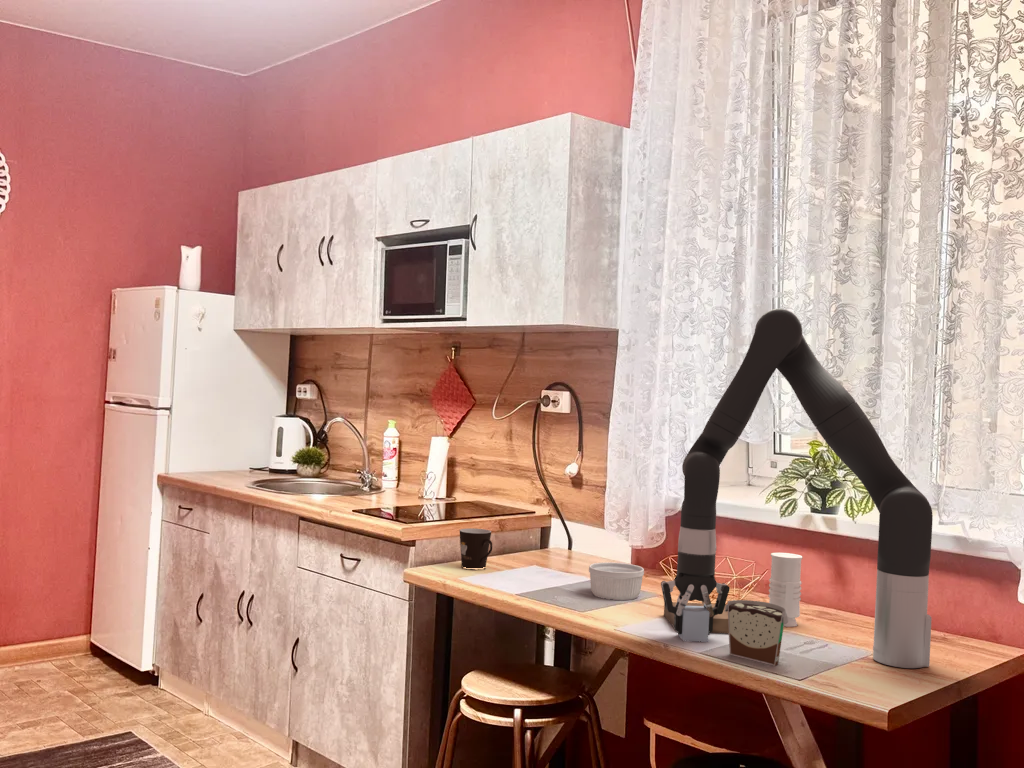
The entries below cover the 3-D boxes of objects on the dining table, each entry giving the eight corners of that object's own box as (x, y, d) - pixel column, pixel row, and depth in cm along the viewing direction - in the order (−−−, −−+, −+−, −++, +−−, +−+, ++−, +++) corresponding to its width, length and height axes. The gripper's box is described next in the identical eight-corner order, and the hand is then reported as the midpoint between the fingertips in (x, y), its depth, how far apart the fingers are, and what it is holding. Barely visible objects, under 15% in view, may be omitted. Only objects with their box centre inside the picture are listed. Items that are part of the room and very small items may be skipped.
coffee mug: (455, 564, 258) (457, 528, 259) (486, 565, 260) (488, 528, 260) (461, 573, 247) (463, 534, 247) (493, 573, 249) (495, 535, 249)
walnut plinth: (725, 617, 211) (726, 604, 211) (744, 634, 197) (744, 619, 197) (663, 615, 210) (664, 601, 210) (677, 631, 196) (678, 617, 196)
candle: (771, 626, 205) (775, 557, 205) (763, 618, 212) (766, 551, 212) (803, 628, 205) (807, 558, 205) (794, 620, 212) (797, 553, 212)
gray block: (701, 635, 194) (703, 606, 194) (707, 642, 189) (709, 612, 189) (677, 634, 194) (679, 605, 194) (683, 641, 189) (684, 611, 189)
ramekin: (590, 600, 222) (592, 571, 222) (584, 588, 235) (586, 560, 235) (647, 603, 223) (648, 573, 223) (637, 591, 236) (639, 563, 236)
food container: (797, 661, 178) (800, 608, 178) (782, 667, 173) (785, 613, 173) (738, 647, 186) (740, 596, 186) (722, 652, 182) (725, 600, 182)
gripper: (726, 548, 196) (722, 630, 196) (658, 545, 195) (654, 627, 195) (736, 554, 188) (732, 640, 188) (665, 551, 188) (661, 637, 187)
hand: (692, 633), depth 192 cm, fingers closed on gray block, 5 cm apart
